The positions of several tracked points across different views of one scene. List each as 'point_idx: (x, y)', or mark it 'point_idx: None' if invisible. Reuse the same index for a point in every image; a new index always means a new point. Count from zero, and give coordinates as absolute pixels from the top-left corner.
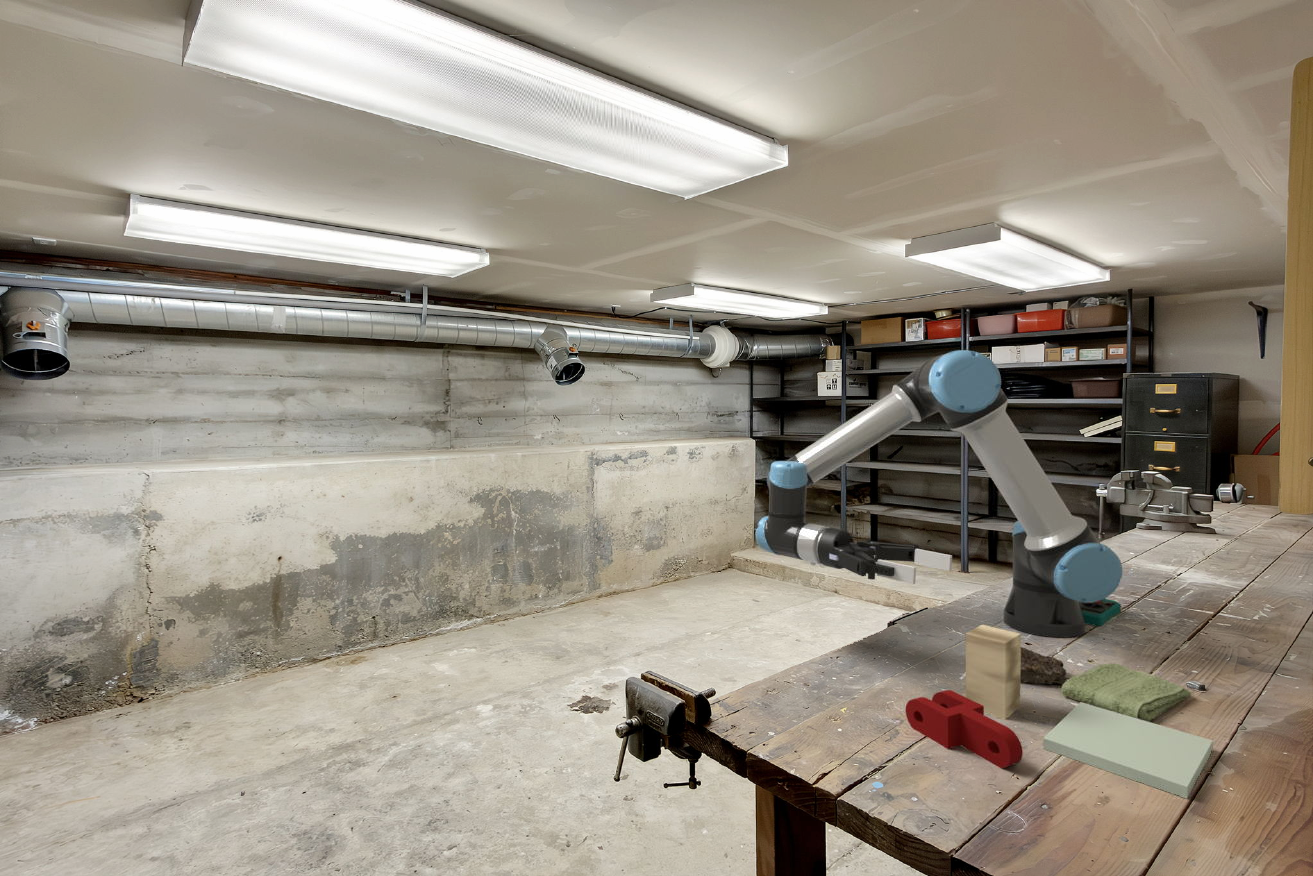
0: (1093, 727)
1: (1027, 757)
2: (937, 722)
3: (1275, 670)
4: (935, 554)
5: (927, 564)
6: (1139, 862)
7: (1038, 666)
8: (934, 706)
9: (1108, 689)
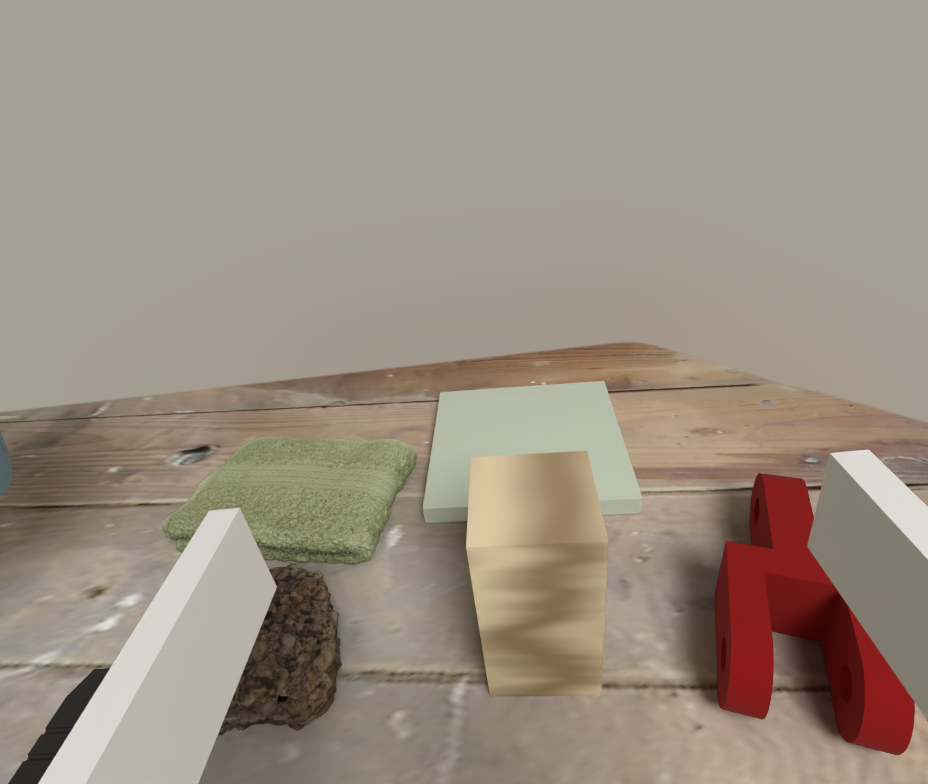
0: None
1: (699, 517)
2: None
3: (78, 418)
4: (187, 615)
5: (200, 750)
6: (793, 387)
7: (313, 586)
8: None
9: (354, 481)
